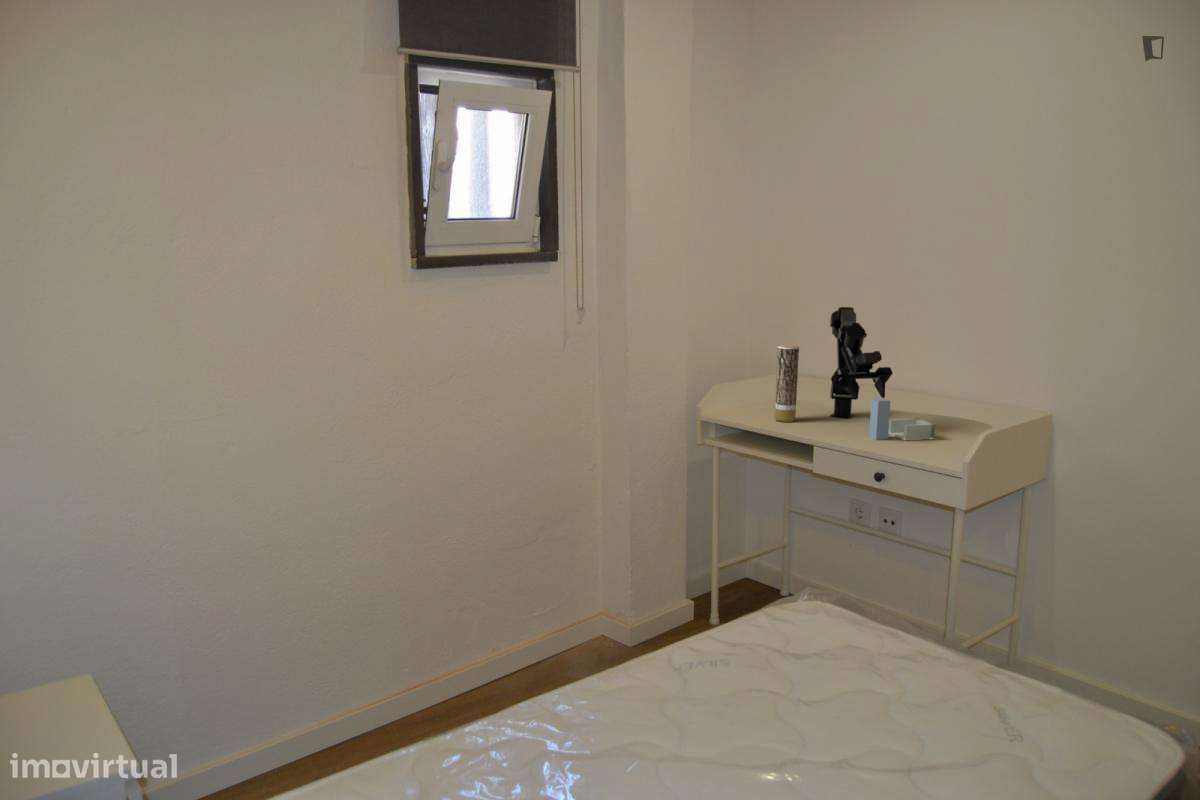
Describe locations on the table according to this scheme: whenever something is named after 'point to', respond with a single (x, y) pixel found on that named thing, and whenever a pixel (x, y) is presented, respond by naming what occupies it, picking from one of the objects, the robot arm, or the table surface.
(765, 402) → the table surface
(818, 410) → the table surface
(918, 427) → the slot bay
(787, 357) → the paper tube
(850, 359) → the robot arm
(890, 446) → the table surface
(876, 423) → the peg
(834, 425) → the table surface
